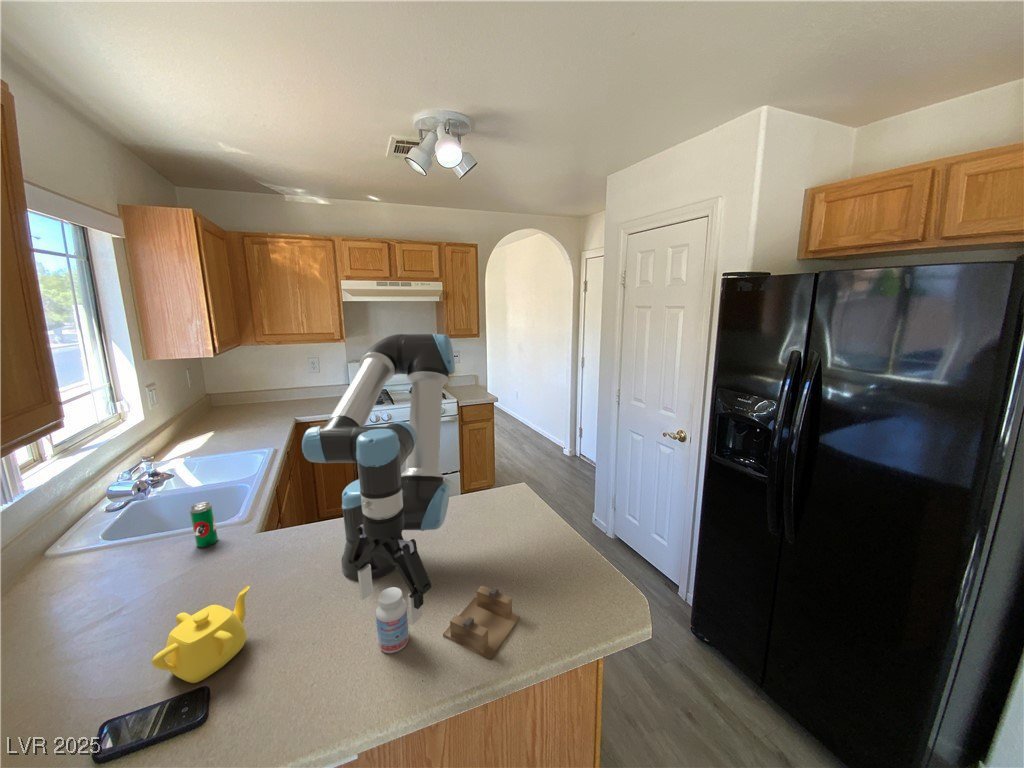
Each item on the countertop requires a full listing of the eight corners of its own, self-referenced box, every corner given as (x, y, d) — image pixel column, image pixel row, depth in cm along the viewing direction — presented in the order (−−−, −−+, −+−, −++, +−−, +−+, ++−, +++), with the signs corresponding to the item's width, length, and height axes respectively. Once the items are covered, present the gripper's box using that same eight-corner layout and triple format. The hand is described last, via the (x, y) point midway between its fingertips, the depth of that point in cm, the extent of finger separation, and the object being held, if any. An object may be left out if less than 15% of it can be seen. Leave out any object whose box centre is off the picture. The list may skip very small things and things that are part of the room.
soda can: (221, 541, 119) (214, 504, 116) (201, 550, 114) (193, 512, 112) (213, 536, 121) (206, 499, 119) (193, 544, 117) (185, 507, 114)
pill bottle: (381, 659, 80) (377, 610, 77) (376, 636, 85) (371, 590, 83) (412, 647, 83) (408, 599, 80) (405, 625, 88) (401, 580, 85)
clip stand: (442, 636, 85) (441, 613, 84) (475, 599, 95) (474, 578, 94) (491, 660, 79) (490, 636, 78) (520, 618, 90) (520, 596, 88)
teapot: (186, 639, 85) (177, 597, 83) (257, 623, 89) (249, 582, 87) (155, 700, 72) (143, 652, 70) (239, 677, 76) (230, 631, 74)
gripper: (323, 503, 80) (333, 597, 84) (419, 538, 68) (425, 645, 72) (354, 488, 86) (362, 576, 91) (447, 517, 75) (451, 617, 79)
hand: (390, 607), depth 82 cm, fingers open, 13 cm apart
